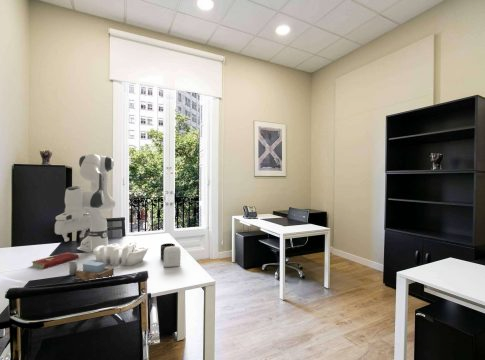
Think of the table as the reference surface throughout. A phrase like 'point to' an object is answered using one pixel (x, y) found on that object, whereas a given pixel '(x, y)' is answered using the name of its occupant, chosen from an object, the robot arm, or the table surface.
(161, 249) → the mug
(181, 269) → the table surface
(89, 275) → the wooden tray
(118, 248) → the wavy white extrusion
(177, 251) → the photo printer
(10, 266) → the table surface
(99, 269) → the tethered block
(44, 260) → the hardcover book
